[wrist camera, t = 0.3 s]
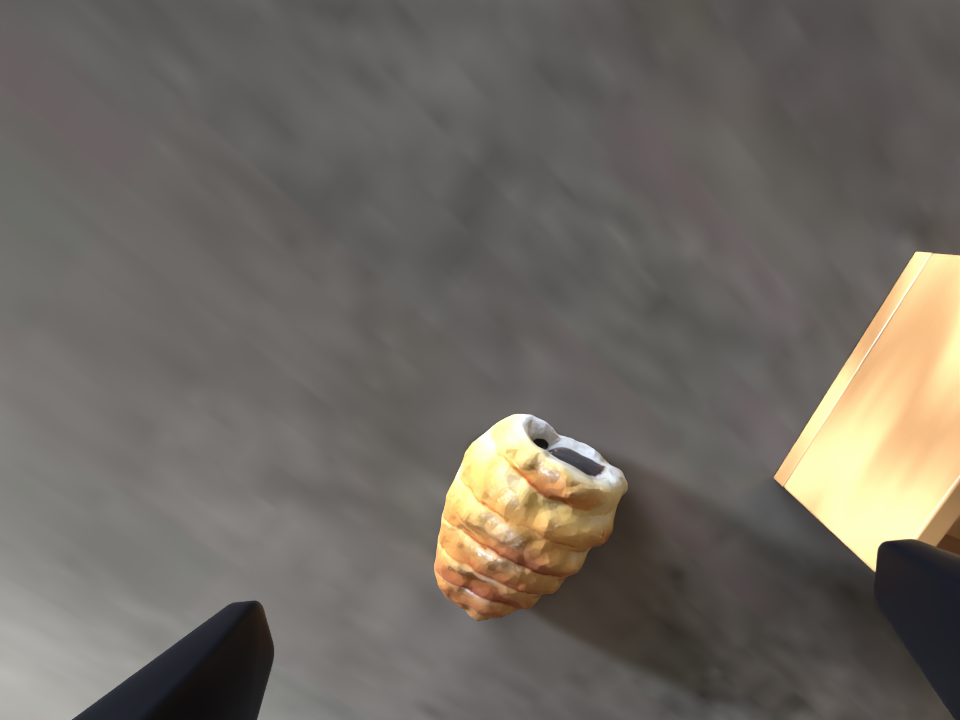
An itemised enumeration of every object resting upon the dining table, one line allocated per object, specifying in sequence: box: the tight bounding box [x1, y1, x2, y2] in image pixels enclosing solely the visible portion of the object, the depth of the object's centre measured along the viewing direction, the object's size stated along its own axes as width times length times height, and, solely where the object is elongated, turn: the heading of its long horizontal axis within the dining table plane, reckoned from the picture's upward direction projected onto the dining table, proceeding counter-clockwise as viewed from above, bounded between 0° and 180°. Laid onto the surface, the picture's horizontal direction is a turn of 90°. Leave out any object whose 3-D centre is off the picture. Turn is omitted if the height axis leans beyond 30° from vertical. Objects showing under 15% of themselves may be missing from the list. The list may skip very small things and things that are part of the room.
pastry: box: [434, 414, 628, 621], centre depth 22 cm, size 9×7×4 cm
